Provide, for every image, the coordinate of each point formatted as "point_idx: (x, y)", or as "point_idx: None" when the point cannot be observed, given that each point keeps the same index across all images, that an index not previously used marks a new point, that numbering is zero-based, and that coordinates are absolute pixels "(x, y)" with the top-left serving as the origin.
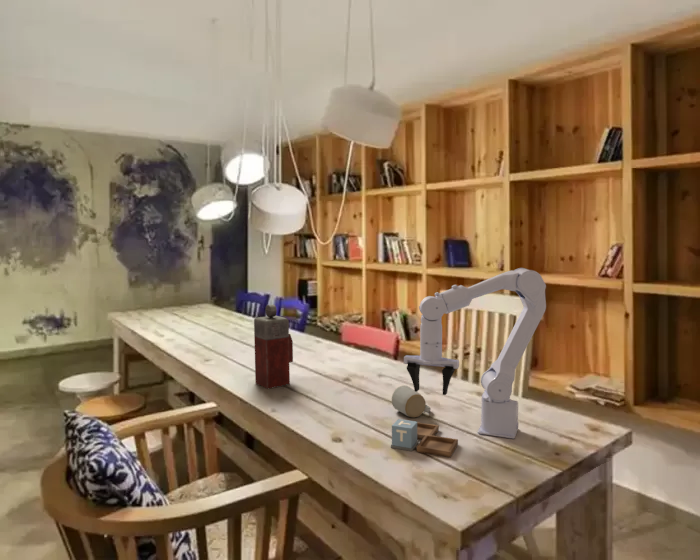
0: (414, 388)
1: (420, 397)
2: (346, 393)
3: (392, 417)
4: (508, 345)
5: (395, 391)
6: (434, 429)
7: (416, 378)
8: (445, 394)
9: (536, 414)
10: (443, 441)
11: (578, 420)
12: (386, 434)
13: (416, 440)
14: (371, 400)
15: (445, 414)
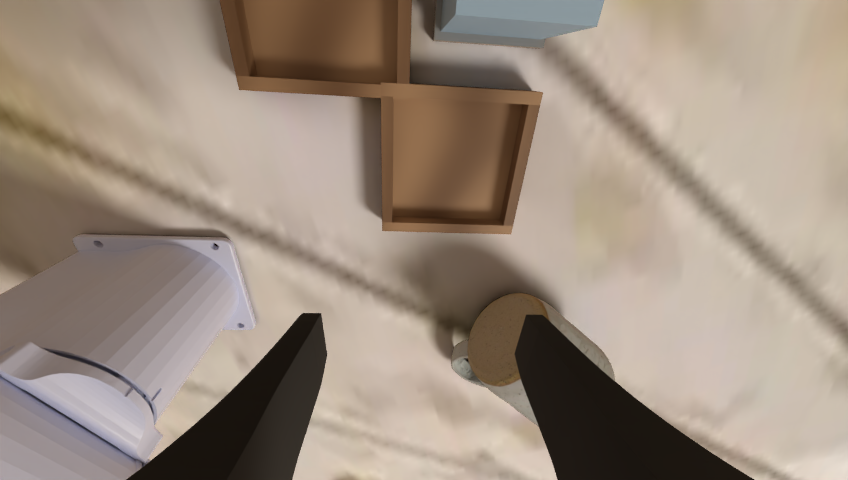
0: (556, 328)
1: (494, 371)
2: (721, 398)
3: (575, 280)
4: None
5: None
6: (387, 179)
7: (583, 419)
8: (298, 318)
9: None
10: (316, 79)
11: None
12: (596, 99)
13: (442, 12)
14: (646, 378)
15: (400, 354)
